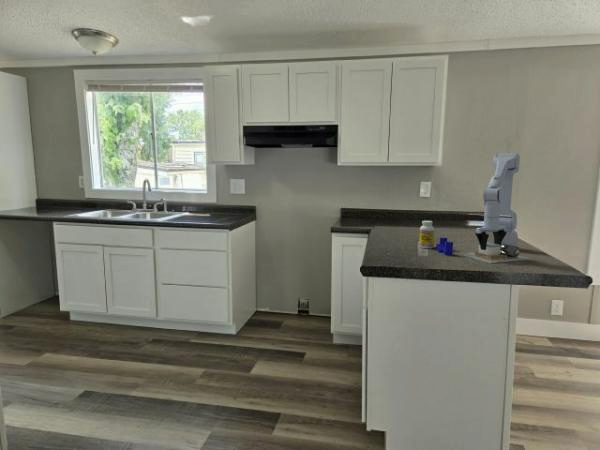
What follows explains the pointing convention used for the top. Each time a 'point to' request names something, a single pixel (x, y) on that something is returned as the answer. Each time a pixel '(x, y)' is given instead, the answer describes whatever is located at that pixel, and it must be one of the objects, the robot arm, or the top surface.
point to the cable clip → (445, 247)
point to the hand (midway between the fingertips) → (490, 248)
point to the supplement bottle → (426, 235)
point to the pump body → (490, 249)
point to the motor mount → (506, 255)
